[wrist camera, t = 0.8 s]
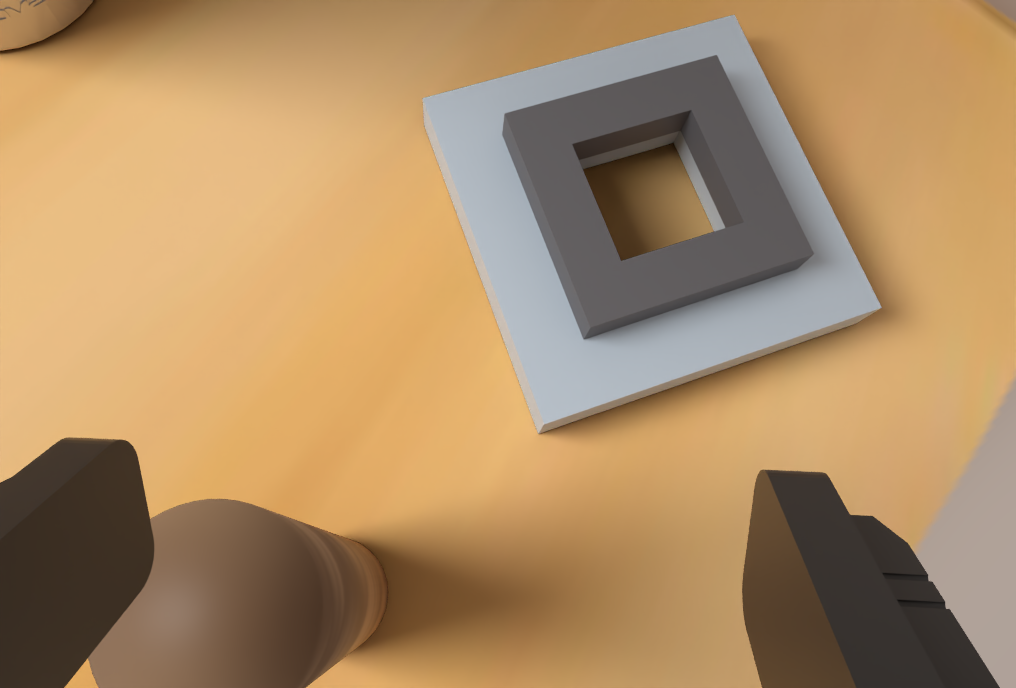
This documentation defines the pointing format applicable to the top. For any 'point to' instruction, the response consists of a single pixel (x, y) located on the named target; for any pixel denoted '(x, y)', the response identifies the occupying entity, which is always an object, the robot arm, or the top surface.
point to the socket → (660, 273)
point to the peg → (242, 603)
